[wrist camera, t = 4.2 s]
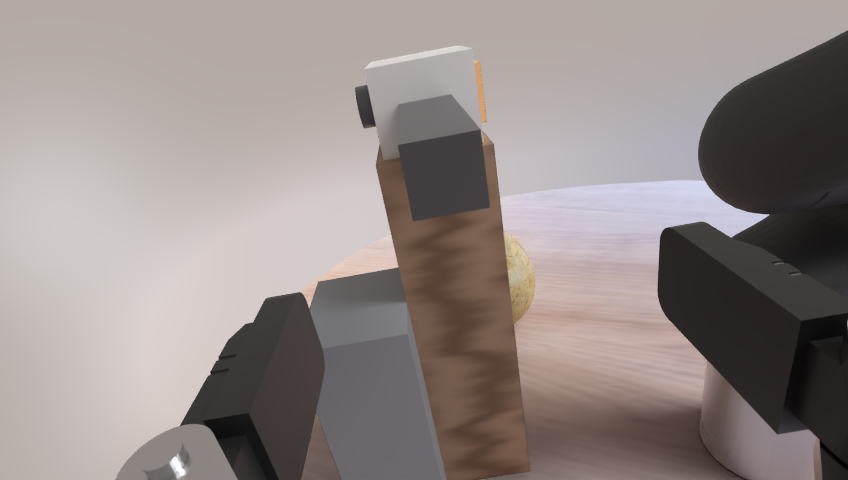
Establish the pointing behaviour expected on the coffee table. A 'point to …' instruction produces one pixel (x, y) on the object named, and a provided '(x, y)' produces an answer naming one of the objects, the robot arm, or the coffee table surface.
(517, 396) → the walnut post
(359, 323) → the grey rectangular block
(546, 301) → the coffee table surface
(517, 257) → the fossilized egg
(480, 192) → the action camera
